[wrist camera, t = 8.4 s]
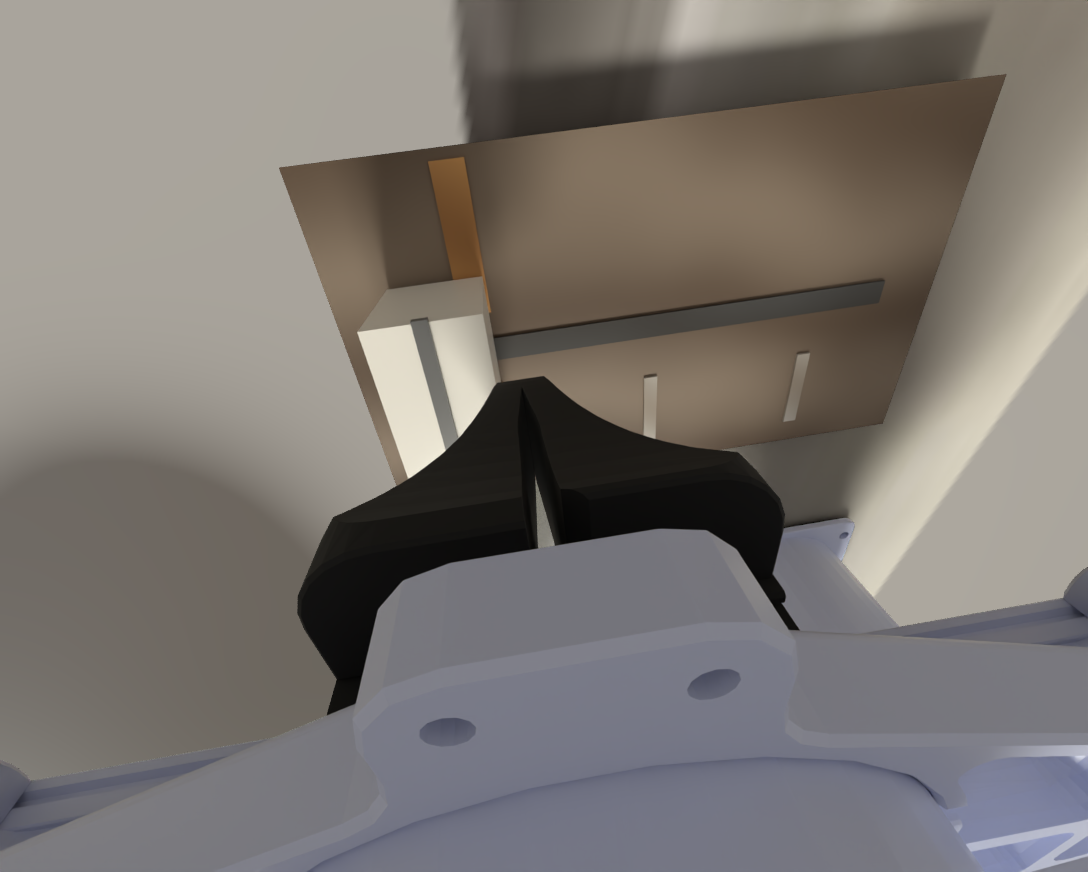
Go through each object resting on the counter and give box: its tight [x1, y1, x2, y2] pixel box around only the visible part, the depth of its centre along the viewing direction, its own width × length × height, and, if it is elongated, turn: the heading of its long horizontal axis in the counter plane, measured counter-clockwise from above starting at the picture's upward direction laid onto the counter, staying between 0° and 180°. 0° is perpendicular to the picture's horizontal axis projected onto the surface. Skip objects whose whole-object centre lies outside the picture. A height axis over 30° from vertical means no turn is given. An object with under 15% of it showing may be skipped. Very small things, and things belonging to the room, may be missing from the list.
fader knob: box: [357, 276, 501, 479], centre depth 14 cm, size 5×3×4 cm, turn 6°
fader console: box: [279, 74, 1006, 486], centre depth 16 cm, size 12×21×2 cm, turn 96°
